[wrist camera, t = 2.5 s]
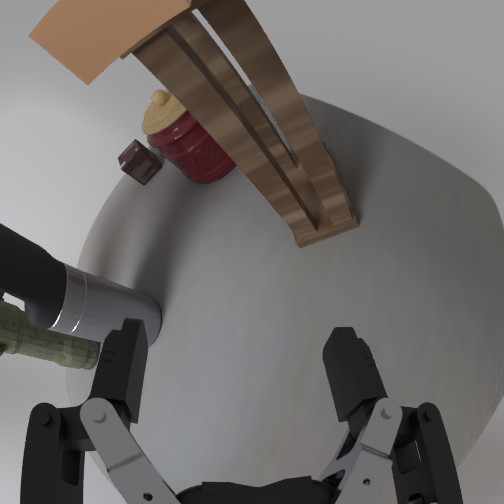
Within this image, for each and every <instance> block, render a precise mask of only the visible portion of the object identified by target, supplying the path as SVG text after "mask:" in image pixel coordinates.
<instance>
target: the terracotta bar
mask: <svg viewBox="0 0 504 504" xmlns="http://www.w3.org/2000/svg"><path fill="white" fill-rule="evenodd" d="M190 5H191V0H59V1H58V2H56V4H55V5H54V6H53V7H52V8H51V9H50V10H49V11H48V12H47V14H46V15H45V16H44V17H43V18H42V20H41V21H40V22H39V23H38V25H37V26H36V27H35V28H34V29H33V31H32V32H31V33H30V34H29V37H30V38H31V39H32V40H34V41H35V42H36V43H37V44H39V45H40V46H41V47H42V48H43V49H45V50H46V51H47V52H48V53H50V54H51V55H52V56H53V57H54V58H56V59H57V60H58V61H59V62H60V63H62V64H63V65H64V66H65V67H66V68H68V69H69V70H70V71H71V72H72V73H74V74H75V75H76V76H77V77H78V78H79V79H81V80H82V81H83V82H84V83H85V84H87V85H89V84H90V83H91V82H92V81H93V80H94V79H95V78H96V77H97V76H98V75H99V74H100V73H101V72H102V71H104V70H105V69H106V68H107V67H108V66H109V65H110V64H111V63H113V62H114V61H115V60H116V59H117V58H118V57H120V56H121V55H122V54H123V53H125V52H126V51H127V50H128V49H129V48H131V47H132V46H133V45H135V44H136V43H137V42H138V41H140V40H141V39H142V38H144V37H145V36H146V35H148V34H149V33H151V32H152V31H153V30H155V29H156V28H158V27H159V26H161V25H162V24H163V23H165V22H166V21H168V20H170V19H171V18H173V17H174V16H176V15H177V14H179V13H180V12H182V11H184V10H185V9H187V8H189V7H190Z"/></svg>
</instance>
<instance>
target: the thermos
mask: <svg viewBox="0 0 504 504" xmlns="http://www.w3.org/2000/svg"><path fill="white" fill-rule="evenodd" d="M4 352H5V353H9V354H15V353H19V354H23V355H27V356H31V357H35V358H40V359H45V360H49V361H54V362H55V363H57V364H59V365H61V366H66V367H72V368H78V369H80V368H84V369H92V368H93V367H94V366H95V365H96V363H97V361H98V357H99V352H100V344H99V342H97V341H93V340H88V339H84V338H80V337H76V336H72V335H68V334H64V333H60V332H56V331H52V330H49V329H45V328H41V327H38V326H35V325H33V324H31V323H30V322H29V321H28V319H27V317H26V314H25V311H22V310H20V309H19V308H18V307H17V306H15V305H12V304H10V303H7V302H4V299H3V298H2V299H1V301H0V356H1V355H2V354H3V353H4Z"/></svg>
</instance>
